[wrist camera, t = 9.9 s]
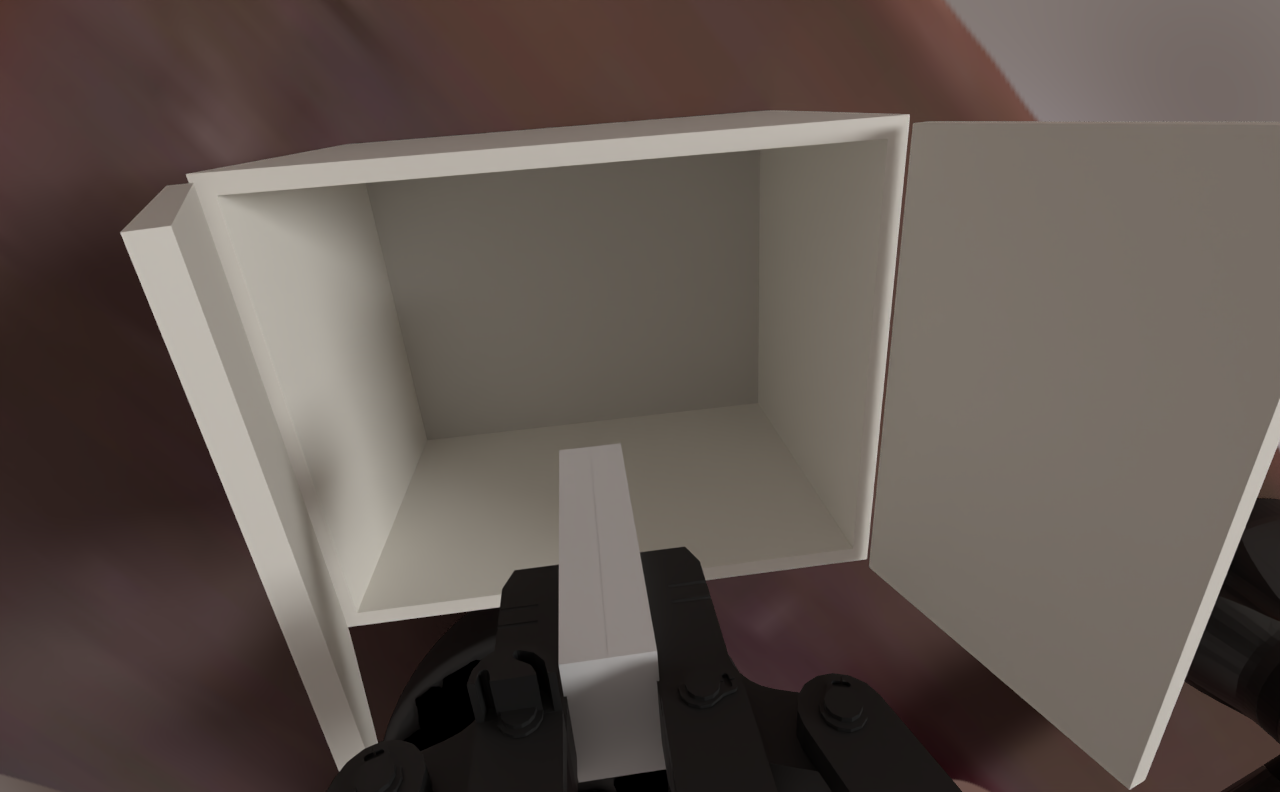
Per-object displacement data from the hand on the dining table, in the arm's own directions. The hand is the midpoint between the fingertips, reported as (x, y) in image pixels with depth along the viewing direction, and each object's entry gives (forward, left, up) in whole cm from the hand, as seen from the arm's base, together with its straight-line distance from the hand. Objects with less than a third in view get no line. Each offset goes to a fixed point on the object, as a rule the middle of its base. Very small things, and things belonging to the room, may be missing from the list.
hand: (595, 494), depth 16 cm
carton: (0, 0, -20) cm, 20 cm away
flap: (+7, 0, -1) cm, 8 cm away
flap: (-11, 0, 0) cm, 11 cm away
